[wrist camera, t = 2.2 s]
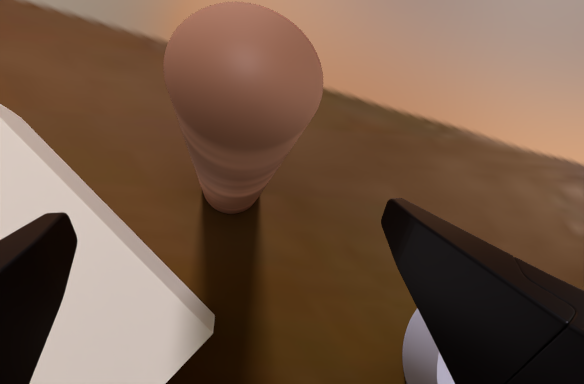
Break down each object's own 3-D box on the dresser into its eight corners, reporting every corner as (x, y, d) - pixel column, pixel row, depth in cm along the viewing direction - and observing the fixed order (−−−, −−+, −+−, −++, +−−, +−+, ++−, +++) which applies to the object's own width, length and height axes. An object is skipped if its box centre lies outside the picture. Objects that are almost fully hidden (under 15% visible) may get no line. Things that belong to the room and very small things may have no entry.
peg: (271, 187, 20) (352, 84, 7) (230, 225, 19) (245, 180, 6) (232, 147, 20) (250, -24, 7) (189, 184, 19) (125, 56, 6)
